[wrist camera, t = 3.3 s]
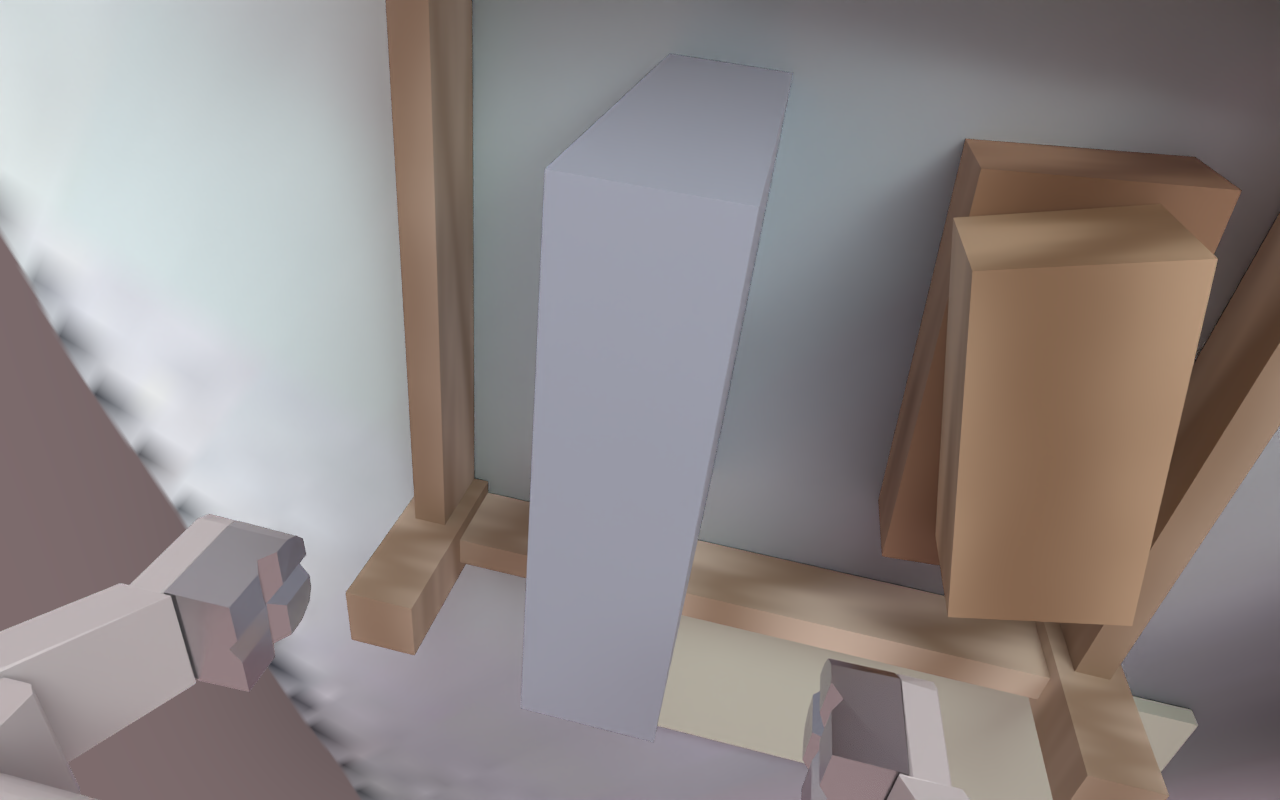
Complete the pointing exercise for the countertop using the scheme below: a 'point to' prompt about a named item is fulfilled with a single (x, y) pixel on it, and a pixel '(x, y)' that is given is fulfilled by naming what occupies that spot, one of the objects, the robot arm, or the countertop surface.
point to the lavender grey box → (637, 376)
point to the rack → (754, 583)
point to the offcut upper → (1062, 406)
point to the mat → (790, 672)
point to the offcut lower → (982, 187)
